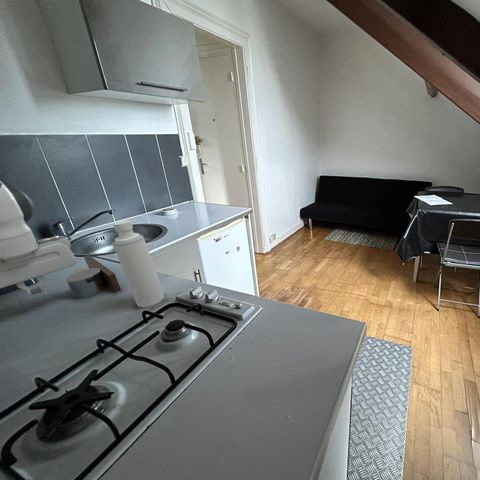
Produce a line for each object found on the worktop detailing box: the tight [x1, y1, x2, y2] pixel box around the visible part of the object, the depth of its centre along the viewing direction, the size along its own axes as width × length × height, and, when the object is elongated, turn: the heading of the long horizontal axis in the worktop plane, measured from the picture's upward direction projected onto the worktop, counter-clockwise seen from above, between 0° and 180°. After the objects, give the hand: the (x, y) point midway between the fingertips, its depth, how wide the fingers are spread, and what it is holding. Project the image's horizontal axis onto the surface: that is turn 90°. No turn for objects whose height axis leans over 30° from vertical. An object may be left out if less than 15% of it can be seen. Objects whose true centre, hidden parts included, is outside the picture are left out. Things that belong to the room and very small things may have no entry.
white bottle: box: [112, 219, 165, 308], centre depth 69 cm, size 7×7×25 cm
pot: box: [65, 268, 108, 300], centre depth 79 cm, size 8×10×6 cm
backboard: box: [83, 254, 122, 293], centre depth 85 cm, size 2×26×6 cm, turn 53°
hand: (36, 292), depth 71 cm, fingers closed
